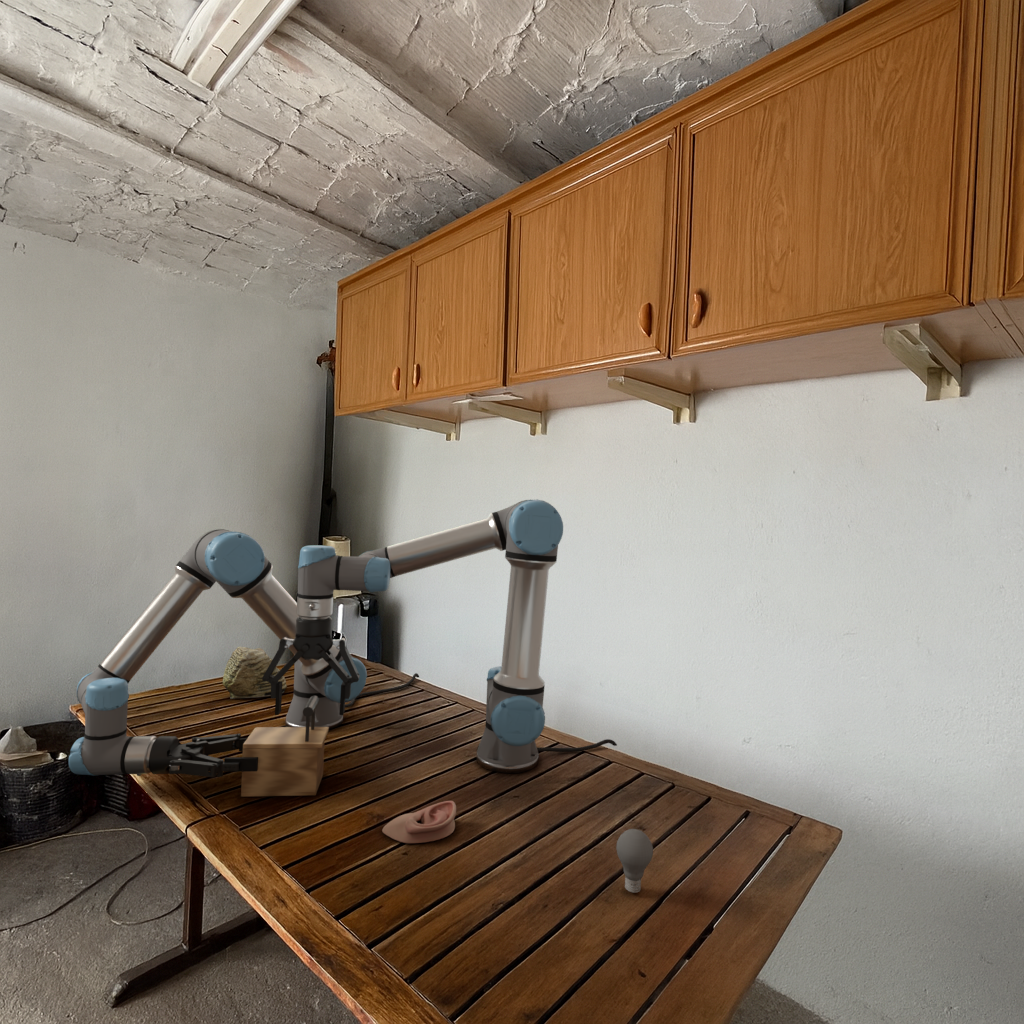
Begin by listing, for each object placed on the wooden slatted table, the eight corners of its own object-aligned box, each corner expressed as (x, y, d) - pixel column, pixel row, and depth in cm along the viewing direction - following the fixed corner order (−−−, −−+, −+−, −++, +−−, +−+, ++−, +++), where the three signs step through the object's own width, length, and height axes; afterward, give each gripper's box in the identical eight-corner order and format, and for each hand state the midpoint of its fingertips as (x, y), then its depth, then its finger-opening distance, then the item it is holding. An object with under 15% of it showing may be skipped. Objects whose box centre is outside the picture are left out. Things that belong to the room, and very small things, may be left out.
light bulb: (610, 879, 108) (613, 822, 108) (644, 879, 109) (647, 822, 109) (619, 902, 102) (622, 840, 102) (655, 901, 103) (658, 840, 103)
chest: (323, 775, 144) (324, 730, 144) (315, 795, 134) (317, 748, 134) (253, 775, 142) (255, 731, 142) (240, 796, 132) (242, 748, 132)
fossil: (218, 695, 195) (220, 647, 195) (278, 685, 208) (279, 640, 207) (228, 703, 189) (230, 653, 188) (289, 692, 201) (290, 645, 201)
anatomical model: (376, 817, 118) (399, 790, 129) (375, 838, 118) (398, 809, 129) (444, 828, 115) (461, 799, 127) (443, 849, 115) (461, 819, 127)
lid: (328, 730, 144) (330, 694, 144) (321, 747, 134) (323, 708, 134) (255, 731, 142) (256, 693, 142) (242, 748, 132) (244, 708, 132)
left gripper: (174, 751, 146) (275, 750, 149) (129, 797, 123) (249, 795, 126) (175, 719, 145) (276, 718, 149) (130, 759, 123) (250, 757, 126)
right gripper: (250, 618, 133) (245, 718, 133) (371, 621, 136) (366, 718, 137) (259, 611, 140) (255, 707, 141) (374, 614, 144) (369, 707, 144)
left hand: (263, 753), depth 137 cm, fingers closed on chest, 10 cm apart
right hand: (310, 713), depth 139 cm, fingers open, 13 cm apart
